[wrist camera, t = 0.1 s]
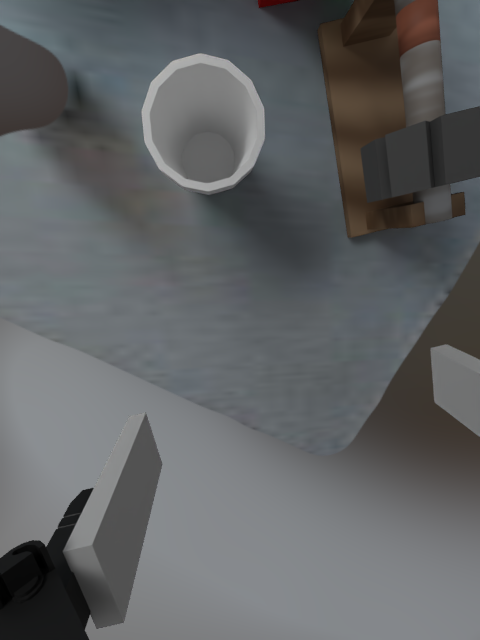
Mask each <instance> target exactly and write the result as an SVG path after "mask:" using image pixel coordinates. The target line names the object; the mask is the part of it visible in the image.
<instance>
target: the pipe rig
mask: <svg viewBox="0 0 480 640" xmlns="http://www.w3.org/2000/svg"><path fill="white" fill-rule="evenodd" d="M317 31H318V38H319V45H320V52H321V59H322V65H323V72H324V79H325V86H326V93H327V99H328V106H329V113H330V120H331V126H332V133H333V140H334V147H335V154H336V160H337V167H338V174H339V181H340V188H341V194H342V201H343V208H344V215H345V222H346V228H347V235H348V238H352V237H356V236H360V235H364V234H368V233H372V232H376V231H381V230H385V229H389V228H411V227H416V226H421V225H425V224H430V223H436V222H440V221H445V220H448V219H451V218H453V217H457V216H462V215H465V198H464V192H461V193H455V194H451V189H450V184H447V185H443V186H438V187H434V188H430V189H426V190H422V191H417V192H413V193H409V194H405V195H400V196H396V197H391V198H387V199H383V200H379V201H374V202H370V203H367V197H366V190H365V182H364V174H363V167H362V159H361V151H360V150H361V149H360V148H362V147H363V146H365V145H367V144H368V143H370V142H372V141H373V140H375V139H379V138H383V137H385V135H387V134H389V133H392V132H395V131H398V130H400V129H403V128H406V127H409V126H411V125H414V124H417V123H420V122H423V121H429V122H430V121H432V120H434V119H436V118H438V117H439V116H442V115H445V101H444V86H443V71H442V56H441V42H440V27H439V12H438V0H354V2H353V4H352V5H351V7H350V9H349V11H348V12H347V14H346V16H345V18H342V19H338V20H334V21H330V22H326V23H321V24H320V26H319V28H318V30H317Z"/></svg>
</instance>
